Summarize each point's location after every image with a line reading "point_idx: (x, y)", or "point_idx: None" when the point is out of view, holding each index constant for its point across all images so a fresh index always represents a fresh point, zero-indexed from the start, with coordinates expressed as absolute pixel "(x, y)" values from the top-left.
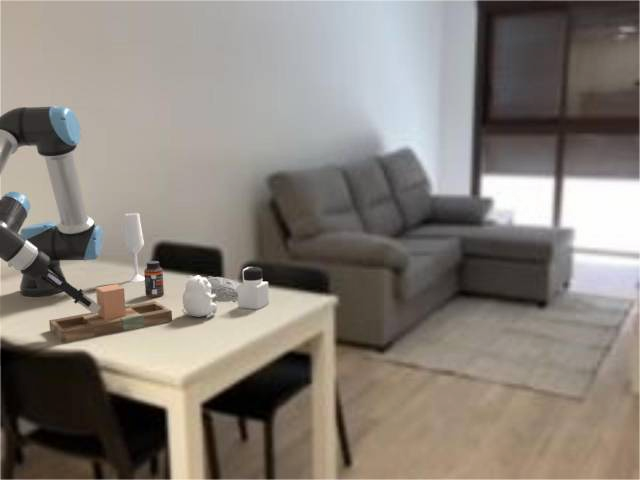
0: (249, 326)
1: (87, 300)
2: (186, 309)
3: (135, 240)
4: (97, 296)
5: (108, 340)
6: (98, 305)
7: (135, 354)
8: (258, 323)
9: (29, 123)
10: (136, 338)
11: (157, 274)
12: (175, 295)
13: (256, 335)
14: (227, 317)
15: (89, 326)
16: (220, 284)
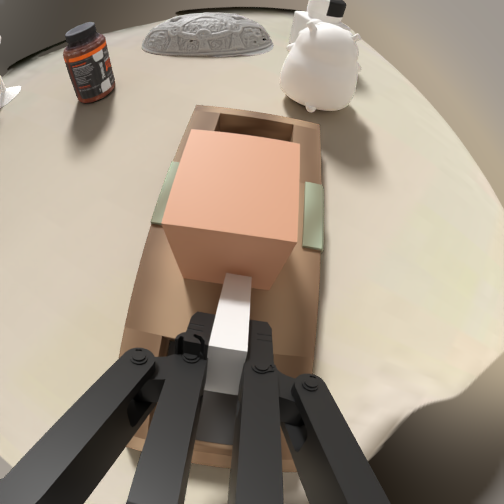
0: (416, 111)
1: (272, 344)
2: (323, 104)
3: None
4: (184, 247)
5: (367, 340)
6: (250, 286)
7: (476, 323)
8: (407, 98)
9: None
10: (395, 272)
11: (103, 46)
12: (137, 71)
13: (455, 136)
14: (355, 92)
15: (310, 373)
16: (233, 23)
